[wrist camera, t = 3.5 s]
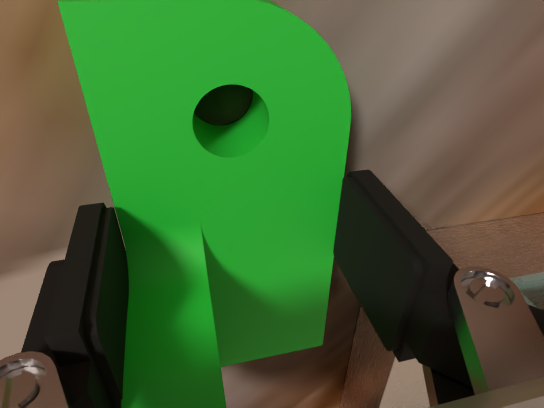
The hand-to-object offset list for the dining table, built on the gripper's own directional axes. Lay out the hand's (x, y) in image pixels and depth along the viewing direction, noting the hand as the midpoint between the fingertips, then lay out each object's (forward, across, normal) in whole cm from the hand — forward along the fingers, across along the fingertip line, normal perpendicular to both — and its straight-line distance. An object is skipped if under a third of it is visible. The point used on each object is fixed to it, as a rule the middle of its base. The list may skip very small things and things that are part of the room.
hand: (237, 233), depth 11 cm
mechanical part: (+2, 0, 0) cm, 2 cm away
